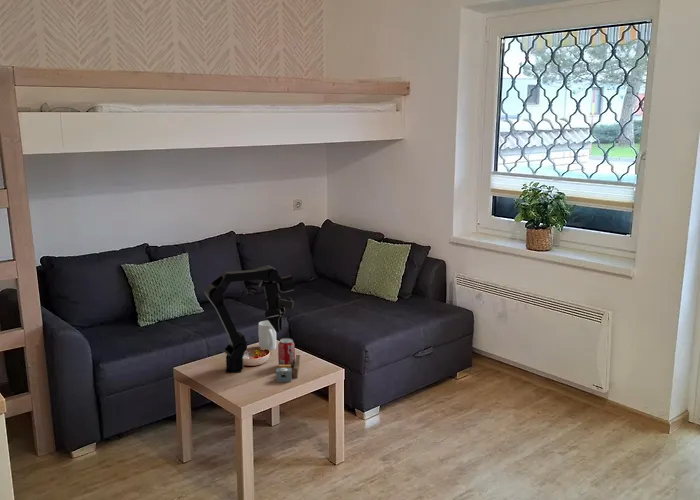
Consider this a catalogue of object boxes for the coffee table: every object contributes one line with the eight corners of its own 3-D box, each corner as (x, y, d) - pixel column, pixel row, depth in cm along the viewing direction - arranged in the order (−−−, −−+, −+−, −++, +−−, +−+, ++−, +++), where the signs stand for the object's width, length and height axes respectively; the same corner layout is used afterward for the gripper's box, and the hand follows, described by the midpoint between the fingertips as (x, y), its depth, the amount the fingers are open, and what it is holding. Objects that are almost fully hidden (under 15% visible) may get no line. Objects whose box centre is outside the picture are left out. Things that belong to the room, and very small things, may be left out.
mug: (263, 354, 295) (262, 329, 292) (256, 346, 305) (256, 321, 303) (280, 352, 298) (280, 327, 295) (273, 343, 308) (273, 319, 306)
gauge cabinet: (276, 381, 266) (276, 370, 265) (277, 378, 269) (276, 367, 268) (291, 381, 266) (290, 370, 265) (291, 378, 269) (291, 367, 268)
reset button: (278, 376, 268) (278, 368, 268) (279, 371, 273) (278, 364, 272) (290, 376, 269) (290, 368, 268) (291, 371, 273) (290, 364, 272)
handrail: (293, 378, 270) (293, 368, 269) (296, 364, 284) (296, 354, 283) (297, 378, 270) (297, 368, 269) (299, 364, 284) (299, 354, 283)
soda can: (296, 364, 284) (295, 337, 282) (293, 370, 277) (292, 343, 275) (280, 363, 285) (279, 337, 282) (276, 369, 278) (276, 343, 276)
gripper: (288, 292, 269) (295, 329, 269) (293, 290, 288) (299, 325, 288) (261, 297, 270) (269, 335, 269) (268, 295, 288) (275, 330, 288)
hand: (279, 331), depth 278 cm, fingers open, 9 cm apart
